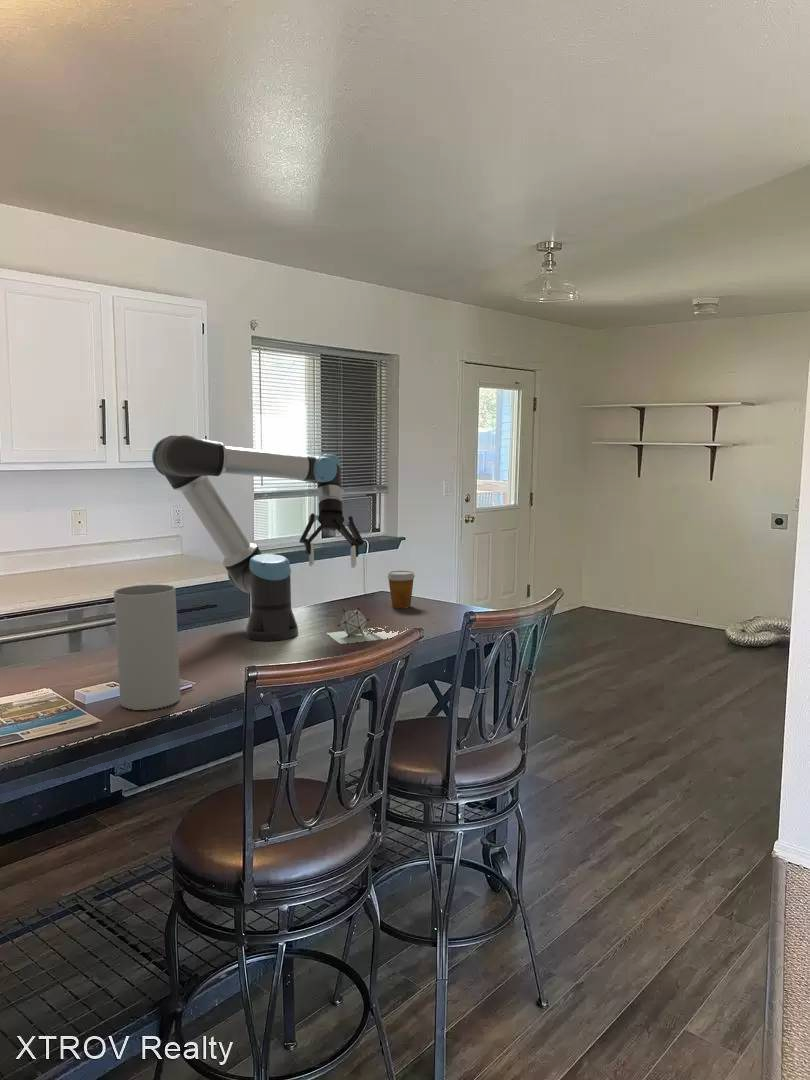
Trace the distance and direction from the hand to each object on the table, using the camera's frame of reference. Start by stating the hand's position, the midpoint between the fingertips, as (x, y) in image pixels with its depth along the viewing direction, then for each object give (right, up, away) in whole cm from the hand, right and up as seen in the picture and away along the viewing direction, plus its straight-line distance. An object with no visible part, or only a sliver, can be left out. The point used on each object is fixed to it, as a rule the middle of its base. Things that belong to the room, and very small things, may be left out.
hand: (333, 565), depth 241 cm
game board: (+12, -20, -11) cm, 26 cm away
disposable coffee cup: (+21, -15, +29) cm, 39 cm away
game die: (+7, -20, -13) cm, 25 cm away
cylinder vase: (-33, -28, -70) cm, 83 cm away
